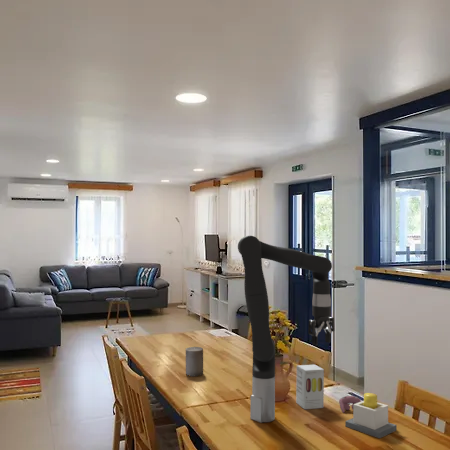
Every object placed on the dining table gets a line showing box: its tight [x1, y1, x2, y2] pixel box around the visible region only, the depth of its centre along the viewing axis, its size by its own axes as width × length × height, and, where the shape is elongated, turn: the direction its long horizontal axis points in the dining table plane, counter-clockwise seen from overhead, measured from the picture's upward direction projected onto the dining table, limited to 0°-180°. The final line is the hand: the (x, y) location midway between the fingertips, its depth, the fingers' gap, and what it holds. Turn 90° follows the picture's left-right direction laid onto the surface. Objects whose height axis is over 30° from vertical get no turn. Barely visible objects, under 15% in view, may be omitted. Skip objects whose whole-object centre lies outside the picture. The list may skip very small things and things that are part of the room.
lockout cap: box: [363, 392, 378, 409], centre depth 187 cm, size 5×5×6 cm
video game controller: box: [338, 395, 362, 413], centre depth 207 cm, size 10×5×7 cm, turn 94°
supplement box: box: [295, 364, 325, 410], centre depth 213 cm, size 10×9×17 cm
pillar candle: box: [185, 346, 204, 377], centre depth 261 cm, size 10×10×15 cm
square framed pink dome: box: [344, 400, 398, 439], centre depth 187 cm, size 12×15×9 cm
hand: (321, 343), depth 200 cm, fingers open, 8 cm apart
